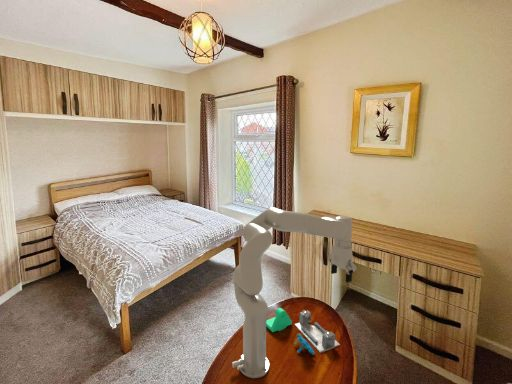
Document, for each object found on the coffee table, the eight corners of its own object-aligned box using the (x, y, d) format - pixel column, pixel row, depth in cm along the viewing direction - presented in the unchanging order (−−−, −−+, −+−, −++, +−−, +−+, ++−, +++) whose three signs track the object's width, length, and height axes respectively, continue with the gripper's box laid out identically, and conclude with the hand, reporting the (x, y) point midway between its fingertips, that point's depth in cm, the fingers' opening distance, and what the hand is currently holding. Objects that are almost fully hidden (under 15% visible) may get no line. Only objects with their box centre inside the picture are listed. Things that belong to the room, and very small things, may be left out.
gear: (319, 356, 114) (305, 344, 111) (310, 366, 113) (295, 354, 110) (307, 338, 124) (294, 327, 121) (298, 348, 124) (285, 337, 121)
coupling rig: (320, 352, 117) (320, 338, 116) (294, 325, 136) (294, 312, 135) (339, 345, 121) (340, 331, 120) (312, 320, 140) (312, 307, 139)
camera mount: (282, 318, 142) (282, 300, 141) (291, 326, 136) (292, 307, 135) (264, 325, 136) (264, 307, 134) (272, 334, 129) (273, 314, 128)
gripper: (324, 238, 129) (322, 271, 132) (350, 249, 114) (348, 287, 116) (336, 236, 133) (334, 269, 135) (363, 247, 117) (361, 283, 119)
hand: (341, 277), depth 125 cm, fingers open, 9 cm apart
